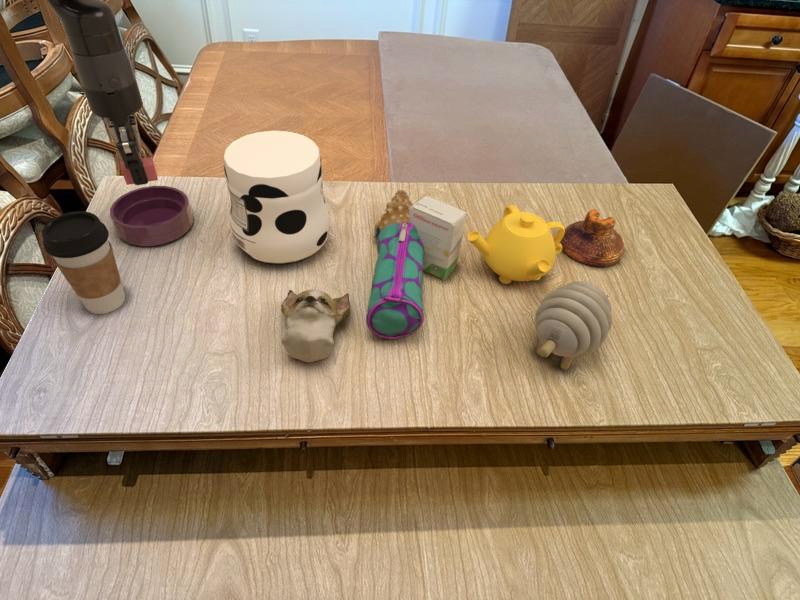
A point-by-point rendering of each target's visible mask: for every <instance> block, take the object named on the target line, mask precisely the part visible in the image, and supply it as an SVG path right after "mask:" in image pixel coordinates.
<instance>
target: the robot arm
mask: <svg viewBox="0 0 800 600" xmlns="http://www.w3.org/2000/svg"><path fill="white" fill-rule="evenodd" d="M46 1H47V3H48V5H49V6H50V8H51V9H52V10H53V12H54V13H55V14H56V16H57V17H58V19H59V21H60V24H61V27H62V29H63V33H64V35H65V37H66V41H67V43H68V46H69V48H70V52H71V54H72V55H71V56H72V59H73V64H74V68H75V70H76V73H77V76H78V79H79V82H80V84H81V87H82V89H83V93H84V95H85V98H86V101H87V104H88V106H89V109H90V111H91V113H92V114H93V115H94V116H97V117H100V118H105V119H108V122H109V124H108V128H109V132H110V135H111V137H112V138H113V139H114V141H115V146H116V149H117V151H118V153H119V155H120V157H121V160H122V161H123V162H124V165H125V167H126V168H127V169H129V170H130V172H131V175H132V178H133V181H134V184H133V185H135V186H142V185H148V183H149V182H148V178H147V175H146V172H145V169H144V166H143V159H142V158H144V157H143V154H142V153H143V152H142V151H143V149H142V144H141V135H140V131H139V128H138V126H139V125H138V121H137V116H136V115H135V114H137V113H138V112H139V111H141V109H142V108H143V105H144V101H143V99H142V96H141V95H142V94H141V92H140V88H139V85H138V82H137V79H136V78H137V77H136V74H135V71H134V67H133V65H132V62H131V59H130V56H129V54H128V51H127V49H126V47H125V43H124V41H123V37H122V34H121V31H120V30H121V29H120V26H119V24H118V20H117V18H116V15H115V12H114V10H113V8H112V7H111V6H110V4H108V3H107V2H106V1H103V0H46Z"/></svg>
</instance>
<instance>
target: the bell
mask: <svg viewBox="0 0 800 600" xmlns="http://www.w3.org/2000/svg"><path fill="white" fill-rule="evenodd" d="M600 215H601V214H600V211H598V210H597V209H595V208H594V209H591V210H589V211H588V212H587V213H586V215H585V217H584V220H579V221H578V220H577V221H574V222H573V223H571V224H569V225H568V226H566V227H565V228H564V229H565V233H564V236H563V238H562V239H561V241H560V244H562V251H563V252H564V253H565V254H566V255H567V256H568V257H569V258H571V259H573V260H575V261H577V262H578V263H582V264H585V265H589V266H592V267H593V266H594V267H610V266H612V265H615V264H616V263H618V262H619V261H620V260H621V258H622V256H623V255H624V253H625V244H624V241H623V238H622V235H620V233H618V231H617V230H616V229H614V228H615V226H616V219H615V218H614V217H612V216H609V217H607V218H600V217H601V216H600Z"/></svg>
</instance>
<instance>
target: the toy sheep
mask: <svg viewBox="0 0 800 600" xmlns="http://www.w3.org/2000/svg"><path fill="white" fill-rule="evenodd" d="M609 297H610V296H609V295H608V294H606V293H605V292H604V291H603V290H602V289H600V288H599V287H598V286H596V285H594V284H592V283H590V282H587V281H572V282H569V283H567V284H564V285H561V286H559V287H558V288H556V289H554V290H553V291H551V292H549V293H548V294H547V295H545V296H544V297H543V298H542V300H541V302H540V303H539V306H538V307H537V310H536V312H535V316H534V326H535V327H534V328H535V333H536V336H537V339H538V341H539V343H538V345H537V348H536V351H535V352H536V354H537V355H538V356H540V357H542V358H548V357H549V356H550V355H551V353H552V354H553V355H555V356H559V357H562V360H561V362H560V368H561V369H562V370H568V369H569V368H570V366H571V364H572V361H573V358H575V357H583V356H587V355H589V354H591V353H593V352H594V351H595V350H596V349H598V348H599V347H600V346H601V345H603V344H604V343H605V341H606V340H607V338H608V335H609V332H610V330H611V329H612V324H613V317H612V304H611V302H610V299H609Z"/></svg>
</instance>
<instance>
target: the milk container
mask: <svg viewBox="0 0 800 600" xmlns="http://www.w3.org/2000/svg"><path fill="white" fill-rule="evenodd" d="M321 156H322V155H321V151H320V148H319V146H318V145H317V144H316V143H315V142H314V140H312V139H310V138H309V137H307V136H306V135H303V134H301V133H296V132H292V131H286V130H265V131H257V132H254V133H249V134H246V135H243V136H242V137H239V138H238V139H236V140H233V141H232V142H231V143H230V144H229V145H228V146H227V147H226V148H225V150H224V155H223V170H224V175H225V179H226V186H227V190H228V195H229V198H230V211H229V227H230V232H231V235H232V238H233V240H234V242H235V243H236V245H237V247H238V249H239V250H240V251H241V252H242V253H243V254H245V255H246V256H247V257H249V258H250V259H253V260H254V261H257V262H260V263H265V264H274V265H275V264H276V265H285V264H290V263H291V264H292V263H296V262H299V261H302V260H305V259H307V258H310V257H312V256H313V255H315V254H317V252H319V251H320V250H321V249H322V248H323V247H324V245H325V244H326V242H327V240H328V237H329V233H330V228H331V216H330V215H331V214H330V209H329V207H328V205H327V201H326V199H325V196H324V178H323V177H324V175H323V171H322V157H321Z"/></svg>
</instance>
